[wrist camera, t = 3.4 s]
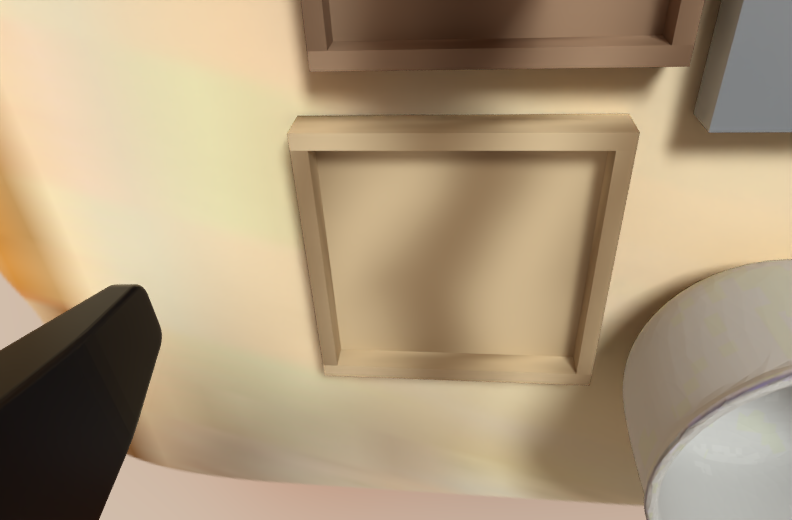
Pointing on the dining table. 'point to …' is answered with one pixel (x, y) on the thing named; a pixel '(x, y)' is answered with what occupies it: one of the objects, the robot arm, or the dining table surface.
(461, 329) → the oak tray
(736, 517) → the teacup
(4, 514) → the robot arm
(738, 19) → the slate tile
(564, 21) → the walnut tray
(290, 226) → the dining table surface
